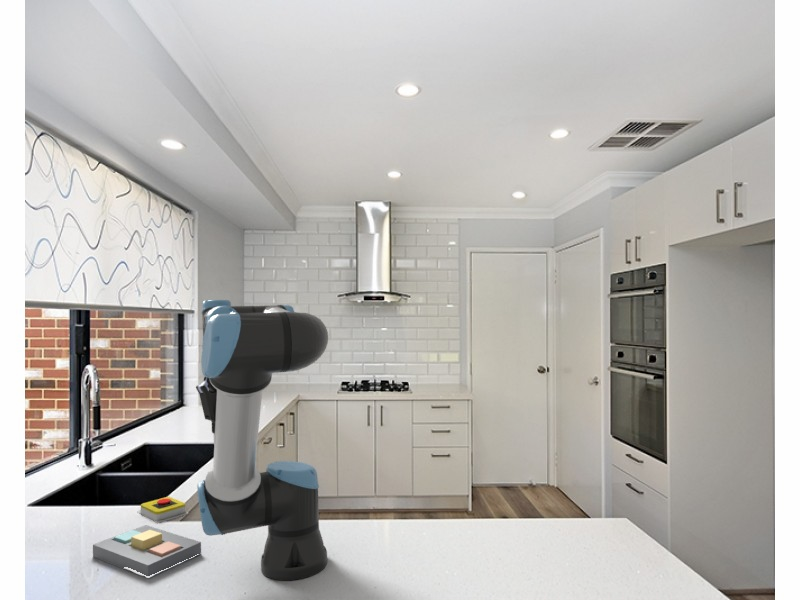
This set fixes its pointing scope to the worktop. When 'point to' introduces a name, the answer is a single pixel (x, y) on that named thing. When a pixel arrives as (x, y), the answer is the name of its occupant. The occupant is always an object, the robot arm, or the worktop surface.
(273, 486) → the robot arm
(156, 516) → the emergency button
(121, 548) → the button panel
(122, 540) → the teal button
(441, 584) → the worktop surface
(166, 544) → the terracotta button
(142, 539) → the yellow button
